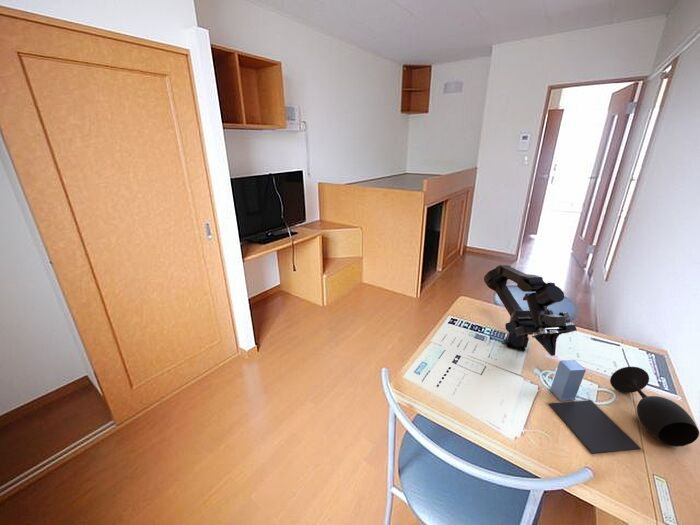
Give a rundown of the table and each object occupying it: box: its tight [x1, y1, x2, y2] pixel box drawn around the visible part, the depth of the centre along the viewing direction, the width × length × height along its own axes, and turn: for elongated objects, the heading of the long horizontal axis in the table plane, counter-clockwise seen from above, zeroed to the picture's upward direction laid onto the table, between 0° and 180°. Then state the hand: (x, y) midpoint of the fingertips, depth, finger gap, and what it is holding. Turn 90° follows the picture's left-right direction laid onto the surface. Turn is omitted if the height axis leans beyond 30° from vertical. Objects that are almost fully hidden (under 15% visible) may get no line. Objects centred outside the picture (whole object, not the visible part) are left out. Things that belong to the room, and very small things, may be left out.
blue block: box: [549, 359, 587, 402], centre depth 95 cm, size 4×5×12 cm
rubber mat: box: [548, 399, 641, 454], centre depth 87 cm, size 16×14×1 cm
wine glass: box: [609, 366, 700, 448], centre depth 88 cm, size 10×10×20 cm
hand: (553, 355), depth 101 cm, fingers closed
